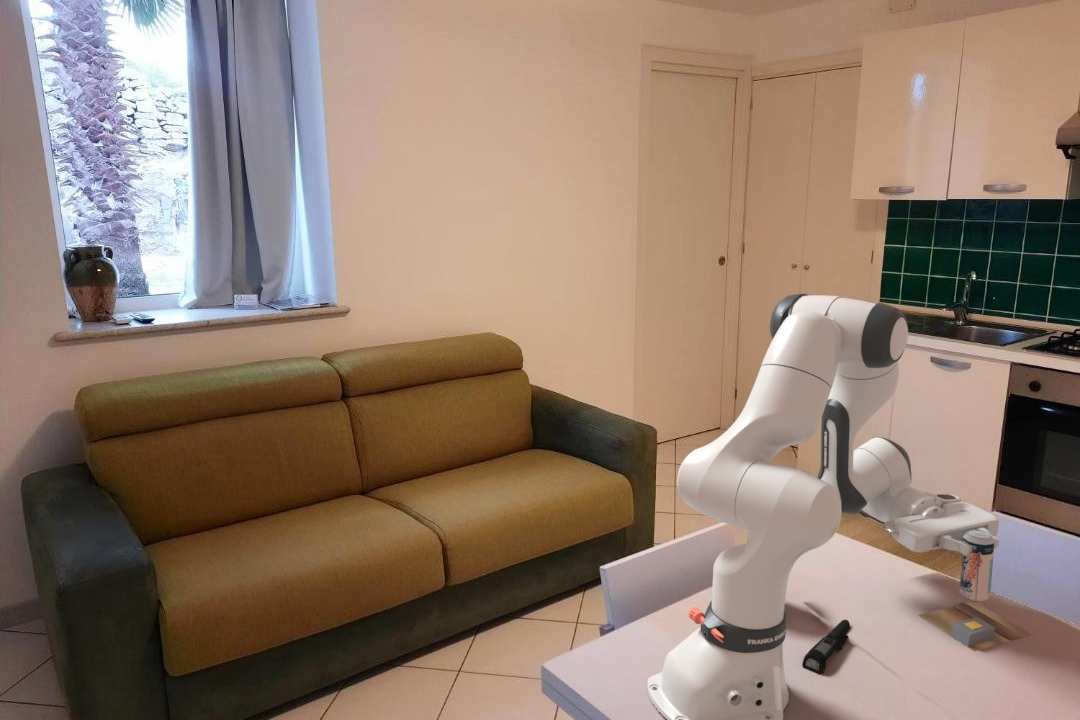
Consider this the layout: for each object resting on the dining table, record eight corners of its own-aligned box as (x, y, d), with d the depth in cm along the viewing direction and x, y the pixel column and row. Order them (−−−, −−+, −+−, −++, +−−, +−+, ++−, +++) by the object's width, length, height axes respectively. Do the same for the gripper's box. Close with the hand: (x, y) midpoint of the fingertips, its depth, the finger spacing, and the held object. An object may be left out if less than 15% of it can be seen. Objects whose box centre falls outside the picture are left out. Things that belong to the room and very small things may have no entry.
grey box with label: (968, 647, 130) (969, 633, 130) (950, 635, 134) (952, 622, 133) (993, 639, 132) (995, 626, 132) (975, 629, 136) (977, 616, 135)
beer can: (954, 590, 138) (958, 528, 136) (981, 590, 137) (986, 528, 135) (967, 603, 133) (971, 539, 131) (995, 603, 133) (1000, 539, 131)
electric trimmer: (855, 638, 137) (857, 622, 136) (821, 677, 125) (823, 660, 125) (835, 630, 139) (836, 615, 138) (799, 668, 128) (801, 651, 127)
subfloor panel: (972, 658, 130) (974, 649, 129) (916, 622, 141) (917, 614, 140) (1031, 641, 134) (1032, 633, 134) (972, 608, 145) (973, 600, 145)
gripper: (879, 509, 141) (940, 540, 128) (960, 493, 148) (1026, 522, 135) (875, 539, 143) (936, 574, 130) (956, 523, 149) (1021, 554, 137)
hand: (983, 547), depth 133 cm, fingers closed on beer can, 5 cm apart
